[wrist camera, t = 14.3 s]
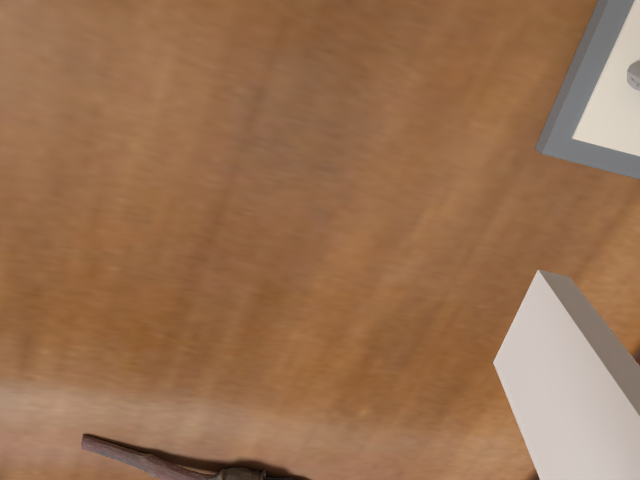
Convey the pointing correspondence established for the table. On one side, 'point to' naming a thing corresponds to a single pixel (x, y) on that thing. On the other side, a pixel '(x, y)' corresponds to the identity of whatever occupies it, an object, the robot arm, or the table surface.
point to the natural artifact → (166, 464)
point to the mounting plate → (600, 95)
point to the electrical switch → (634, 75)
